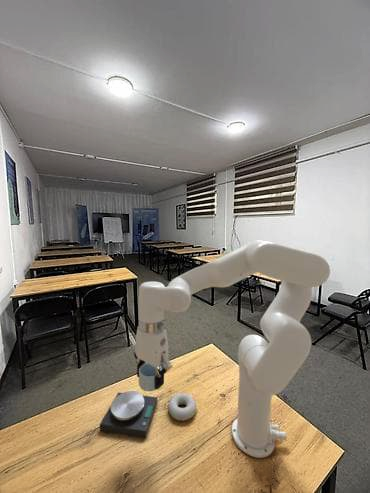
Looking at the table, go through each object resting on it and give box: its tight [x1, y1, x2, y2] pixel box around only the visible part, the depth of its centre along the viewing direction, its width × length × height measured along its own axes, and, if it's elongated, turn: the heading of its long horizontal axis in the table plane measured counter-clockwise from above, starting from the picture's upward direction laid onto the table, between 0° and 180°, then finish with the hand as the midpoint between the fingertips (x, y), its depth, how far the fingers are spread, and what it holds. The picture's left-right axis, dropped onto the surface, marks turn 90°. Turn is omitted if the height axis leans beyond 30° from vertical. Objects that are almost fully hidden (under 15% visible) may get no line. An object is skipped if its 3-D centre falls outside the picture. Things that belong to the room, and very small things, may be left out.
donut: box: [167, 392, 197, 422], centre depth 74 cm, size 10×4×10 cm
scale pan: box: [110, 390, 144, 420], centre depth 71 cm, size 11×11×1 cm
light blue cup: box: [138, 363, 162, 392], centre depth 63 cm, size 7×7×4 cm
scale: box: [99, 392, 158, 439], centre depth 71 cm, size 15×13×3 cm
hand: (150, 380), depth 63 cm, fingers closed on light blue cup, 7 cm apart
